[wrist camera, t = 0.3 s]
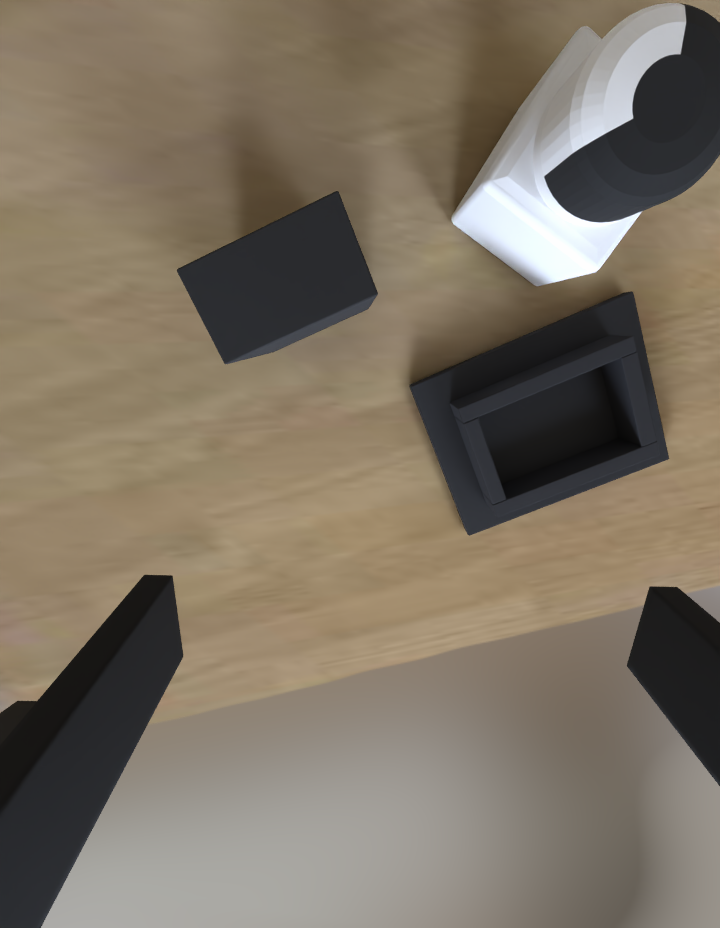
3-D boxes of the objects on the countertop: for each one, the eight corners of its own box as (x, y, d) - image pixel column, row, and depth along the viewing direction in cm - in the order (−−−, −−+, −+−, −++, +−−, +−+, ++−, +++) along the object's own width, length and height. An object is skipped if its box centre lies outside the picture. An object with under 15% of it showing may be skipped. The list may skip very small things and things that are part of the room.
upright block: (244, 293, 27) (175, 269, 17) (344, 245, 26) (337, 189, 16) (272, 352, 28) (224, 364, 18) (368, 308, 28) (378, 294, 17)
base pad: (408, 384, 29) (415, 391, 26) (623, 292, 27) (661, 287, 24) (465, 530, 32) (478, 552, 29) (659, 455, 31) (697, 470, 28)
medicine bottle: (612, 182, 26) (822, 61, 14) (536, 289, 27) (669, 259, 16) (520, 104, 24) (669, -97, 13) (447, 221, 26) (521, 136, 15)
